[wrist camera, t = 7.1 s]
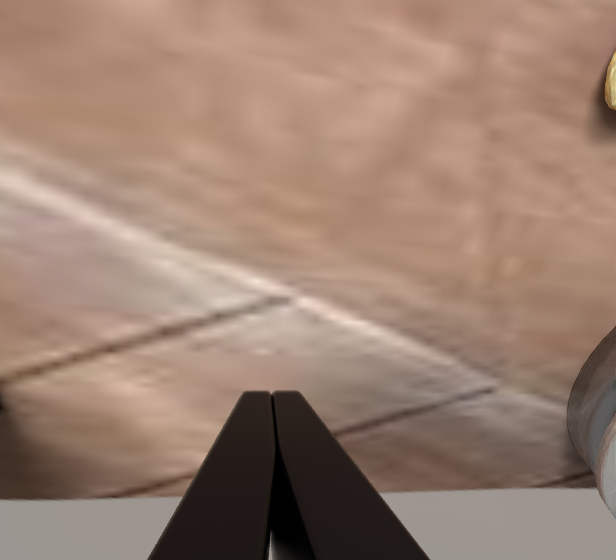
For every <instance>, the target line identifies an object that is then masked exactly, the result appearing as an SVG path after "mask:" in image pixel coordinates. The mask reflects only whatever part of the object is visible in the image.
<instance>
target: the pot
mask: <svg viewBox="0 0 616 560" xmlns="http://www.w3.org/2000/svg"><path fill="white" fill-rule="evenodd" d="M615 413H616V327H615V328H614V329H613V330H612V331H611V332H610V333H609V334H608V335H607V336H606V337H605V338H604V339H603V340H602V342H601V343H600V344H599V345H598V347H597V348H596V349H595V350H594V352H593V353H592V354H591V355H590V357H589V359H588V360H587V362H586V363H585V365H584V366H583V368H582V369H581V371H580V373H579V375H578V378H577V380H576V382H575V384H574V386H573V389H572V392H571V395H570V399H569V404H568V410H567V425H568V431H569V436H570V438H571V440H572V443H573V445H574V447H575V448H576V450H577V451H578V453H579V454H580V455H581V457H582V458H583V459H584V461H585V462H586V464H587V465H588V466H589V468H590V469H591V470H592V472H593V473H594V474H595V466H596V458H597V454H598V449H599V446H600V443H601V441H602V438H603V436H604V433H605V431H606V429H607V427H608V425H609V424H610V422H611V420H612V418H613V416H614V415H615Z"/></svg>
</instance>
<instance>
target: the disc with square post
mask: <svg viewBox="0 0 616 560" xmlns="http://www.w3.org/2000/svg"><path fill="white" fill-rule="evenodd" d="M595 478H596V484H597V488H598V491H599V494H600V496H601V498H602V500H603V501H604V503H605V504H606V506H607V507H608V508H609V510H610V511H611V513H612V514H613V515H614V517H615V518H616V413H615V415H614V416H613V418H612V420H611V422H610V424H609V425H608V427H607V429H606V431H605V433H604V436H603V438H602V441H601V443H600V446H599V449H598V454H597V458H596V466H595Z"/></svg>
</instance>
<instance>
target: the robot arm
mask: <svg viewBox="0 0 616 560" xmlns="http://www.w3.org/2000/svg"><path fill="white" fill-rule="evenodd" d="M1 412H2V408H1V406H0V414H1ZM270 536H271V549H272V557H273V560H430V559H429V558H428V556H427V555H426V554H425V552H424V551H423V550H422V549H421V547H420V546H419V545H418V543H417V542H416V541H415V540H414V538H413V537H412V536H411V535H410V533H409V532H408V531H407V529H406V528H405V527H404V525H403V524H402V523H401V522H400V520H399V519H398V518H397V516H396V515H395V514H394V513H393V511H392V510H391V509H390V507H389V506H388V505H387V504H386V502H385V501H384V500H383V498H382V497H381V496H380V494H379V493H378V492H377V491H376V489H375V488H374V487H373V485H372V484H371V483H370V482H369V480H368V479H367V478H366V476H365V475H364V474H363V473H362V471H361V470H360V469H359V467H358V466H357V465H356V464H355V462H354V461H353V460H352V458H351V457H350V456H349V455H348V453H347V452H346V451H345V449H344V448H343V447H342V446H341V444H340V443H339V442H338V440H337V439H336V438H335V437H334V435H333V434H332V433H331V431H330V430H329V429H328V428H327V426H326V425H325V424H324V422H323V421H322V420H321V419H320V417H319V416H318V415H317V413H316V412H315V411H314V410H313V408H312V407H311V406H310V404H309V403H308V402H307V401H306V399H305V398H304V397H303V395H302V394H301V393H300V392H298V391H274V392H273V393H272V395H271V393H270V392H269V391H245V392H243V393H242V395H241V396H240V398H239V400H238V402H237V403H236V405H235V407H234V409H233V410H232V412H231V414H230V416H229V417H228V419H227V421H226V423H225V424H224V426H223V428H222V430H221V431H220V433H219V435H218V437H217V438H216V440H215V442H214V444H213V445H212V447H211V449H210V451H209V452H208V454H207V456H206V458H205V459H204V461H203V463H202V465H201V467H200V468H199V470H198V472H197V474H196V475H195V477H194V479H193V481H192V482H191V484H190V486H189V488H188V489H187V491H186V493H185V495H184V496H183V498H182V500H181V502H180V504H179V505H178V507H177V509H176V511H175V512H174V514H173V516H172V517H171V519H170V521H169V523H168V524H167V526H166V528H165V530H164V532H163V533H162V535H161V537H160V538H159V540H158V542H157V544H156V546H155V547H154V549H153V551H152V552H151V554H150V556H149V558H148V560H268V559H269V547H270Z"/></svg>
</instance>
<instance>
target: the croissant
mask: <svg viewBox="0 0 616 560" xmlns="http://www.w3.org/2000/svg"><path fill="white" fill-rule="evenodd" d="M605 100H606V102H607V104H608V106H609V108H611V109H614V110H616V51H615V53H614V55H613V57H612V59H611V62H610V64H609V66H608V69H607V76H606V83H605Z"/></svg>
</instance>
